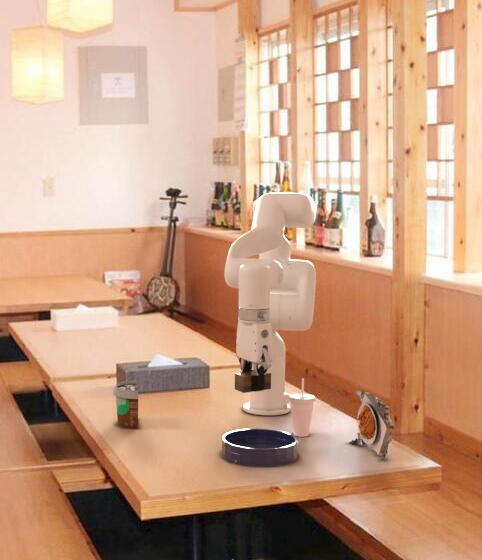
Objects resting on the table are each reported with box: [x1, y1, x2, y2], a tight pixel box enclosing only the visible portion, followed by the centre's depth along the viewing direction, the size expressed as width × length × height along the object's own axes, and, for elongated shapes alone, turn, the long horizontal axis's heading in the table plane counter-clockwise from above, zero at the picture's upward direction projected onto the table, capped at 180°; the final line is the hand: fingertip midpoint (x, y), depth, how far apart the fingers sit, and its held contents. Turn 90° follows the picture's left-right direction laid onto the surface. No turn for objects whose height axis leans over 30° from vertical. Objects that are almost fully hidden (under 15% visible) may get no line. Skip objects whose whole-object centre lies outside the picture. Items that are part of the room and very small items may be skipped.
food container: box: [112, 380, 139, 430], centre depth 267 cm, size 12×6×10 cm, turn 5°
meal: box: [348, 389, 395, 461], centre depth 245 cm, size 15×4×13 cm, turn 19°
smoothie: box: [289, 377, 316, 438], centre depth 259 cm, size 6×6×14 cm
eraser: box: [234, 371, 271, 394], centre depth 256 cm, size 8×4×4 cm, turn 120°
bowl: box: [221, 428, 299, 468], centre depth 241 cm, size 17×17×4 cm
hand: (252, 387), depth 256 cm, fingers closed on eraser, 4 cm apart
